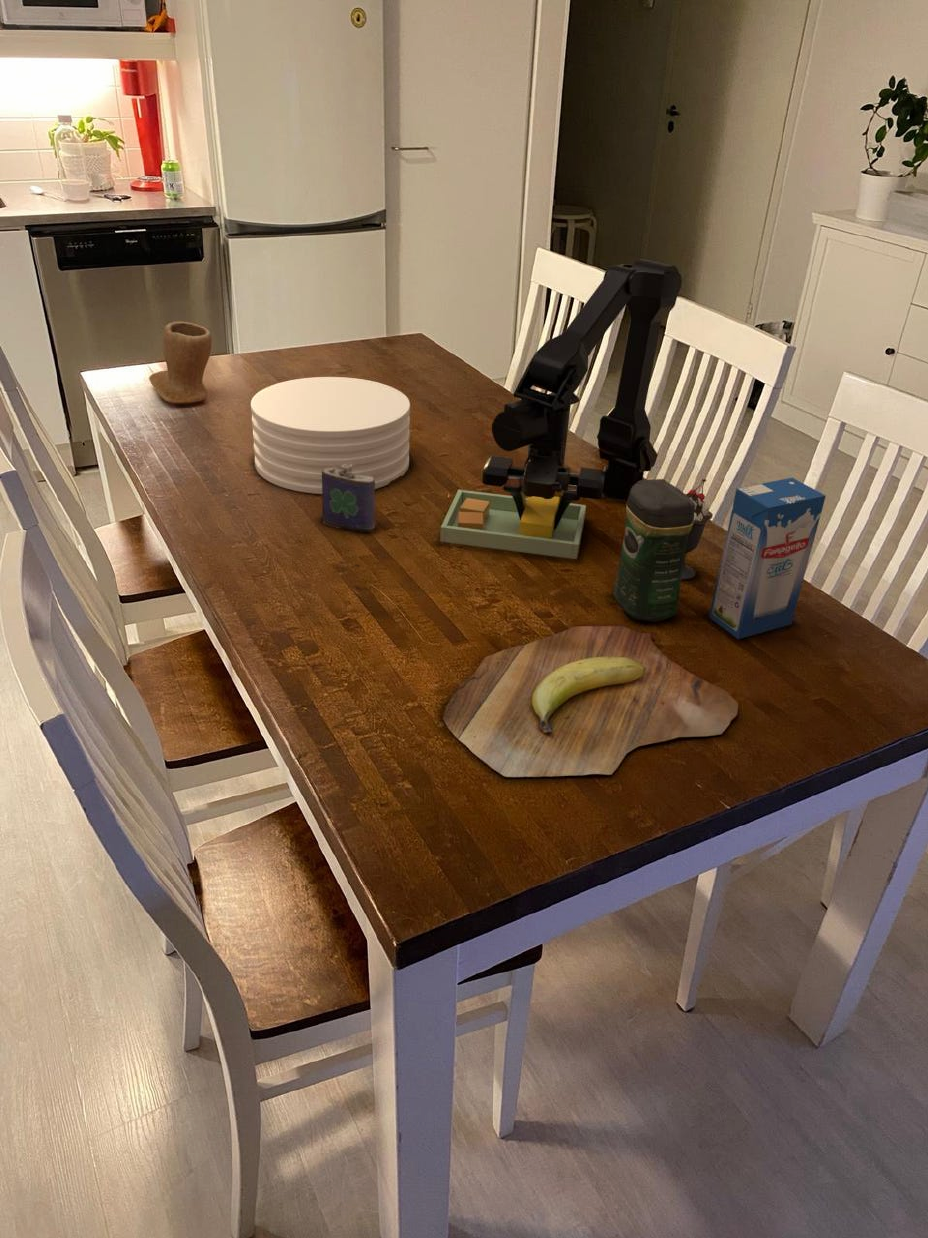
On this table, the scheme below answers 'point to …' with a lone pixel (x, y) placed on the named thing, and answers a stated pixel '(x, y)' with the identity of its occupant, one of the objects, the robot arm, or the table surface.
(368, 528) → the flask
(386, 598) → the table surface
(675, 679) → the cutting board
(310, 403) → the plate stack
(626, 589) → the coffee jar
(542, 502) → the sponge
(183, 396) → the brown boot
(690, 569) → the sundae
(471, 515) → the block
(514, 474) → the robot arm
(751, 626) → the milk carton
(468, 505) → the block
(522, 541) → the tray
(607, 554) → the table surface
